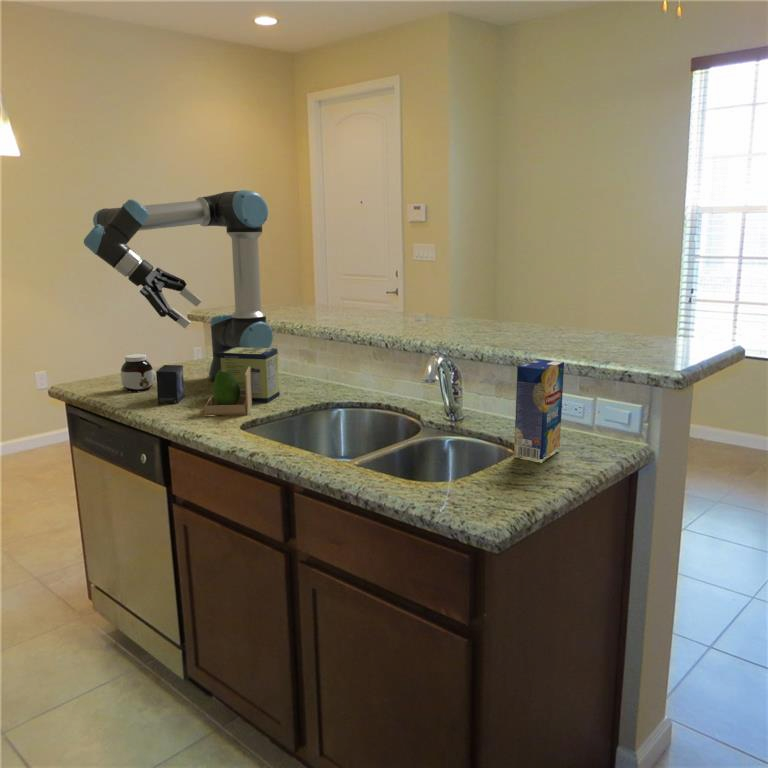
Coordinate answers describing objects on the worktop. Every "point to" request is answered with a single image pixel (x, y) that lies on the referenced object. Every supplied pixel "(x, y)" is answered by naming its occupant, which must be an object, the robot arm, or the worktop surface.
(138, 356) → the spread jar
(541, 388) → the blue cracker box
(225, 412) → the mailer box
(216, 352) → the robot arm
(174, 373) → the small box
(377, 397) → the worktop surface
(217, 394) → the fruit
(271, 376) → the protein box
